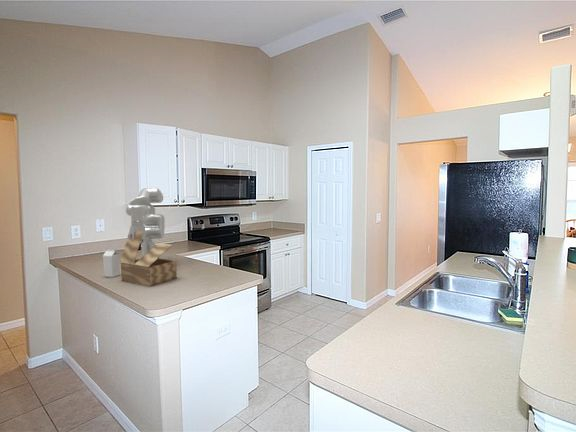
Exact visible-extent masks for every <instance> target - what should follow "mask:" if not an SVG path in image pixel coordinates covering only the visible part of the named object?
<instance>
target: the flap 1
mask: <svg viewBox="0 0 576 432" xmlns="http://www.w3.org/2000/svg"><path fill="white" fill-rule="evenodd" d="M142 235H143V232H140V231H136V234H135V237H134V239H132V241H131V238H130V240H129V233H128V235H127V238H126V242H125V245H124V248H123V252H122V256H121V259H120V264H121V263H127V264H133V265H134V263H135V260H137V256H138V252H139V251H138V249H139V245H140V242H141V238H142Z"/></svg>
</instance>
